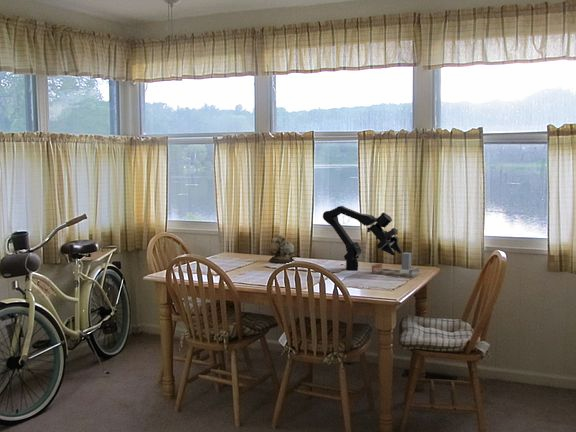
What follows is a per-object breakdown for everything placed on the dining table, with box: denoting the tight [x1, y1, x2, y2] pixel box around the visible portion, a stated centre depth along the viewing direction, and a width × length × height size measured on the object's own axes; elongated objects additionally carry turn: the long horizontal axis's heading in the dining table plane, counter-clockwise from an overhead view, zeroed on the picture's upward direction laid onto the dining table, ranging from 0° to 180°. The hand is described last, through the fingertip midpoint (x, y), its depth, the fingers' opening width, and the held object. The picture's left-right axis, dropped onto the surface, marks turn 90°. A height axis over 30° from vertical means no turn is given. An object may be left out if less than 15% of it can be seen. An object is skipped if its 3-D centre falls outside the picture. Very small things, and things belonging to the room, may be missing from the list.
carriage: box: [399, 252, 413, 274], centre depth 326 cm, size 6×6×11 cm
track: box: [371, 262, 420, 279], centre depth 330 cm, size 24×10×4 cm, turn 58°
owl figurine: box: [267, 234, 296, 265], centre depth 369 cm, size 18×12×17 cm, turn 73°
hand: (397, 253), depth 329 cm, fingers open, 9 cm apart
